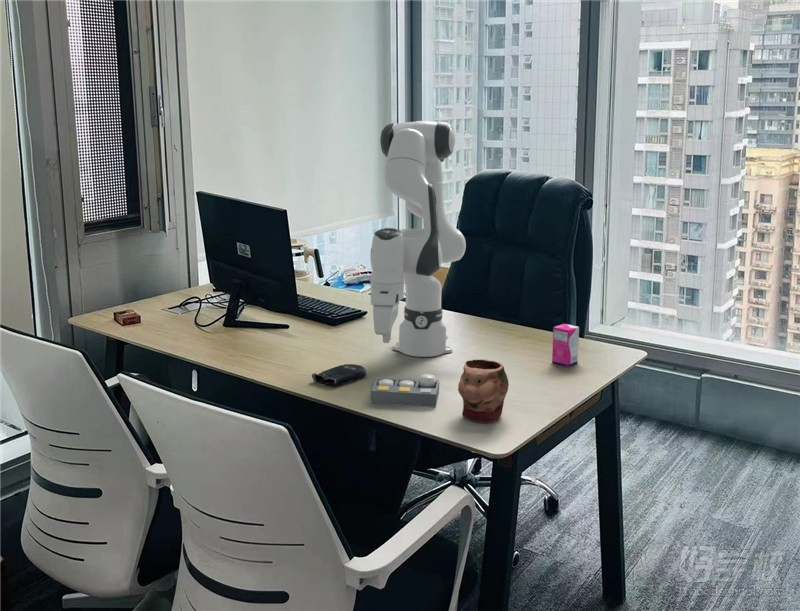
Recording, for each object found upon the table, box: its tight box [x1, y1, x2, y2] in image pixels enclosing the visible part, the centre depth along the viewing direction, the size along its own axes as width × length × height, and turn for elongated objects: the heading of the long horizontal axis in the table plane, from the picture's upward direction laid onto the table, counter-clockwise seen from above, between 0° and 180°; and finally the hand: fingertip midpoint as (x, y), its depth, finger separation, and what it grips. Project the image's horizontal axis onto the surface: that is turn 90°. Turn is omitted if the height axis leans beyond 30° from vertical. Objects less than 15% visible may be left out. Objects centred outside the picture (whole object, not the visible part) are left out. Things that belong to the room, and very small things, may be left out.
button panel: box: [370, 376, 440, 408], centre depth 227 cm, size 11×17×4 cm, turn 83°
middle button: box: [399, 380, 414, 387], centre depth 228 cm, size 4×4×2 cm
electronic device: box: [311, 363, 368, 388], centre depth 241 cm, size 10×6×15 cm
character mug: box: [457, 358, 510, 424], centre depth 215 cm, size 20×12×14 cm, turn 159°
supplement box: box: [551, 323, 580, 367], centre depth 257 cm, size 6×6×12 cm
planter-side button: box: [419, 373, 436, 388], centre depth 227 cm, size 4×4×2 cm
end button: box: [379, 379, 393, 386], centre depth 229 cm, size 4×4×2 cm
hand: (386, 341), depth 226 cm, fingers closed
